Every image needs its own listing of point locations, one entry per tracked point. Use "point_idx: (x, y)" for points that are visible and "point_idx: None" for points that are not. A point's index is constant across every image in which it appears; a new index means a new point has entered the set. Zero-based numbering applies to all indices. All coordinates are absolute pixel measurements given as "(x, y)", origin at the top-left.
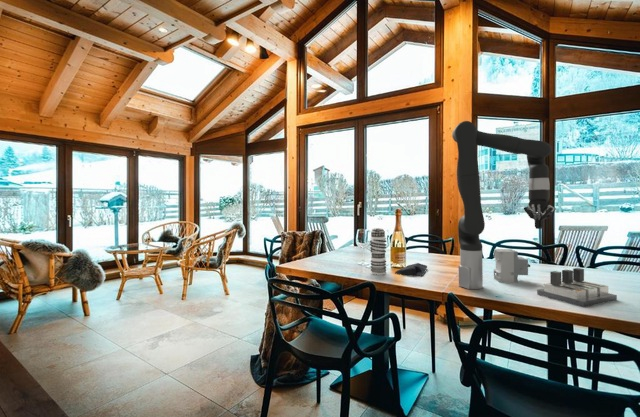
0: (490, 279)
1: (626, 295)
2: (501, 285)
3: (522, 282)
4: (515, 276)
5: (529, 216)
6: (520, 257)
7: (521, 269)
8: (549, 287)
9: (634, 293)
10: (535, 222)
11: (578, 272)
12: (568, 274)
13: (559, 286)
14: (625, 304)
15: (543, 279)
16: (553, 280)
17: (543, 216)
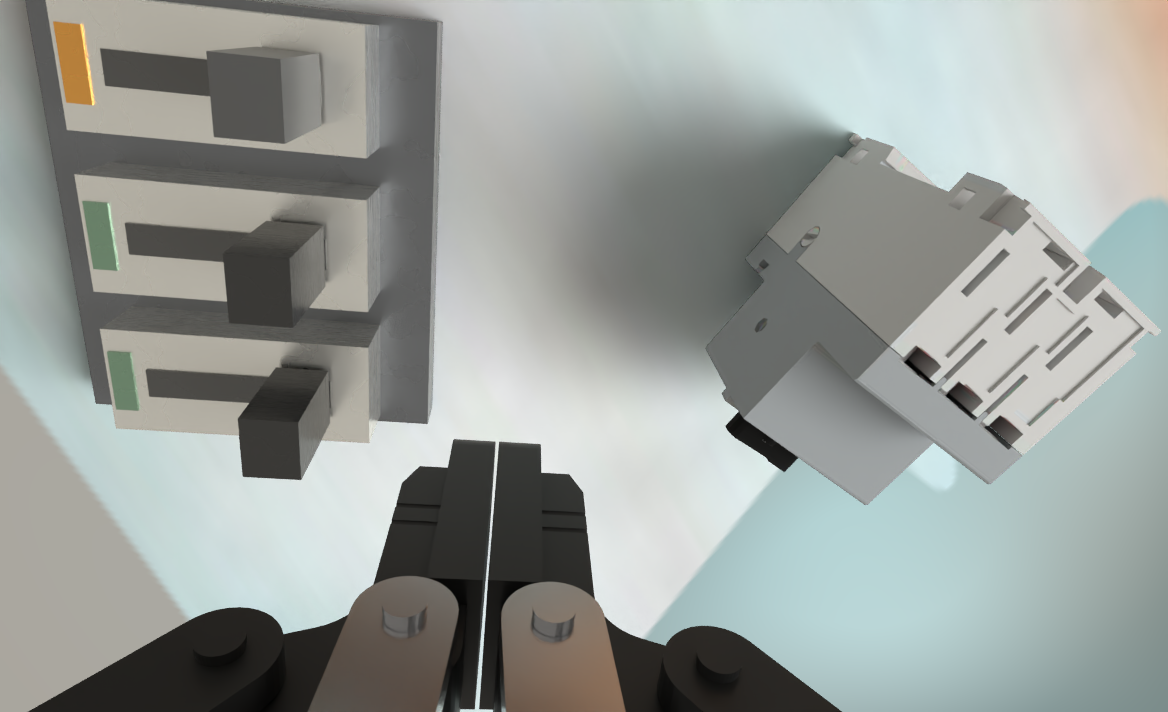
0: (953, 159)
1: (176, 545)
2: (783, 38)
3: (727, 301)
4: (774, 260)
5: (790, 680)
6: (850, 463)
7: (759, 328)
8: (315, 19)
9: None
10: (565, 556)
11: (258, 405)
12: (235, 244)
13: None
14: (25, 329)
15: (682, 515)
16: (274, 51)
17: (194, 685)
